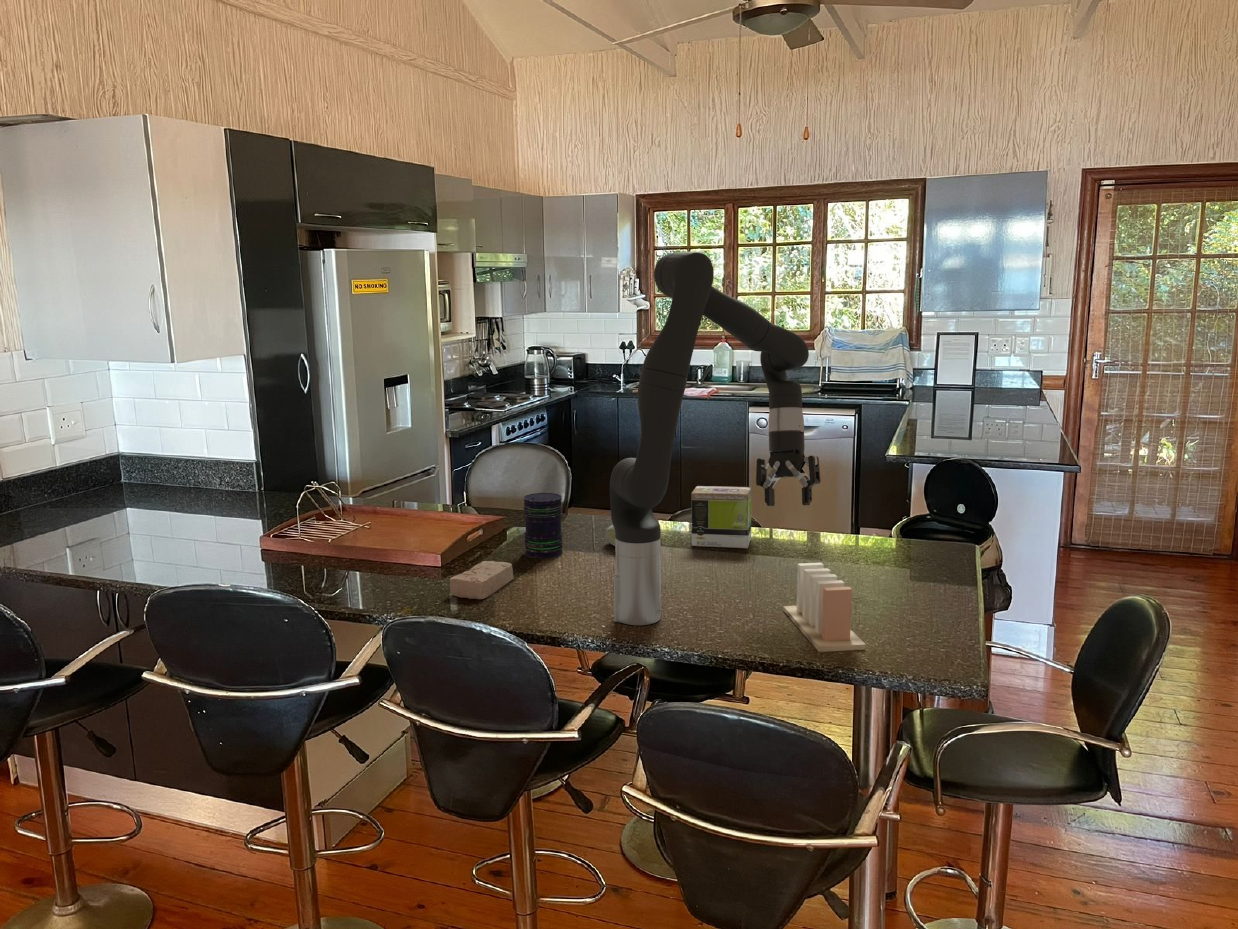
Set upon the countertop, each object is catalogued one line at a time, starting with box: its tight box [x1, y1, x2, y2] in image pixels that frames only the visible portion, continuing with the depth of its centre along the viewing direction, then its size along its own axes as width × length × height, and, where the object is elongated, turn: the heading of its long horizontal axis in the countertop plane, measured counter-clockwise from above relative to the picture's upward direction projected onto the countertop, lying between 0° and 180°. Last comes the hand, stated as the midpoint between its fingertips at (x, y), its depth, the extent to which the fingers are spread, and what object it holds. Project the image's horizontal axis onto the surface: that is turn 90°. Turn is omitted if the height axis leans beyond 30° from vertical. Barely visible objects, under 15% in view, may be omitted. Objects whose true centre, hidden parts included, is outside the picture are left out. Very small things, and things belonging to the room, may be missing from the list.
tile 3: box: [809, 573, 838, 626], centre depth 185 cm, size 2×5×10 cm, turn 97°
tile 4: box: [815, 579, 845, 633], centre depth 181 cm, size 2×5×10 cm, turn 97°
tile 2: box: [802, 567, 831, 619], centre depth 189 cm, size 2×5×10 cm, turn 97°
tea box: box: [690, 485, 752, 549], centre depth 248 cm, size 15×10×15 cm, turn 77°
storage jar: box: [523, 492, 564, 560], centre depth 240 cm, size 10×10×15 cm
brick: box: [449, 560, 514, 600], centre depth 213 cm, size 17×8×5 cm, turn 161°
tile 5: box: [822, 586, 853, 641], centre depth 177 cm, size 2×5×10 cm, turn 97°
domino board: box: [782, 604, 867, 653], centre depth 186 cm, size 23×9×1 cm, turn 7°
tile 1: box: [796, 562, 825, 612], centre depth 193 cm, size 2×5×10 cm, turn 97°
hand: (788, 505), depth 200 cm, fingers open, 8 cm apart
